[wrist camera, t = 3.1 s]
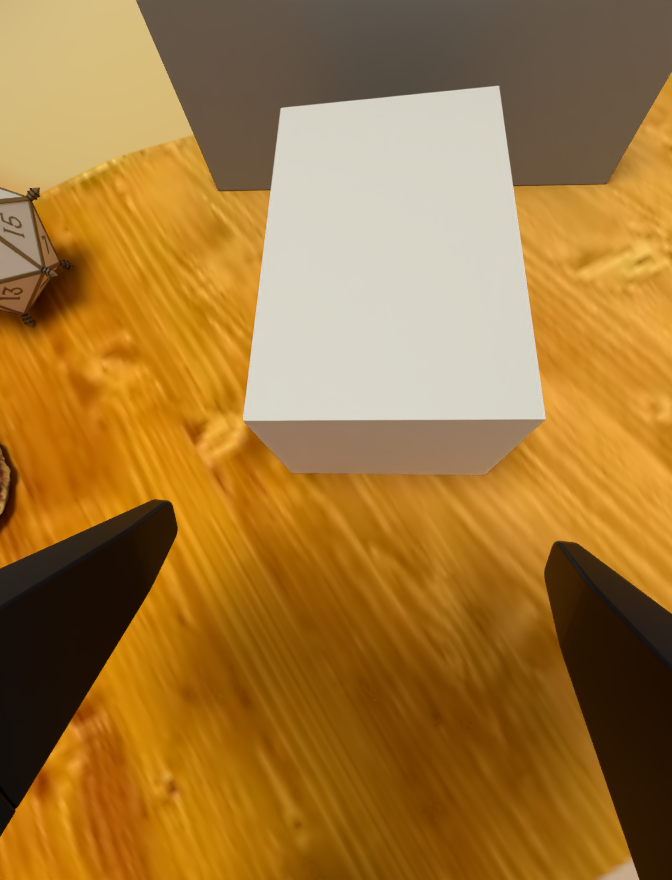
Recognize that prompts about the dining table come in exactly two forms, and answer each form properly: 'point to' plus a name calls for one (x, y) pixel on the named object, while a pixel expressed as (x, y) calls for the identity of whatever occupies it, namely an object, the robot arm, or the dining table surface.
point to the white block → (393, 291)
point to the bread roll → (4, 482)
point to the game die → (24, 254)
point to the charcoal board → (418, 71)
